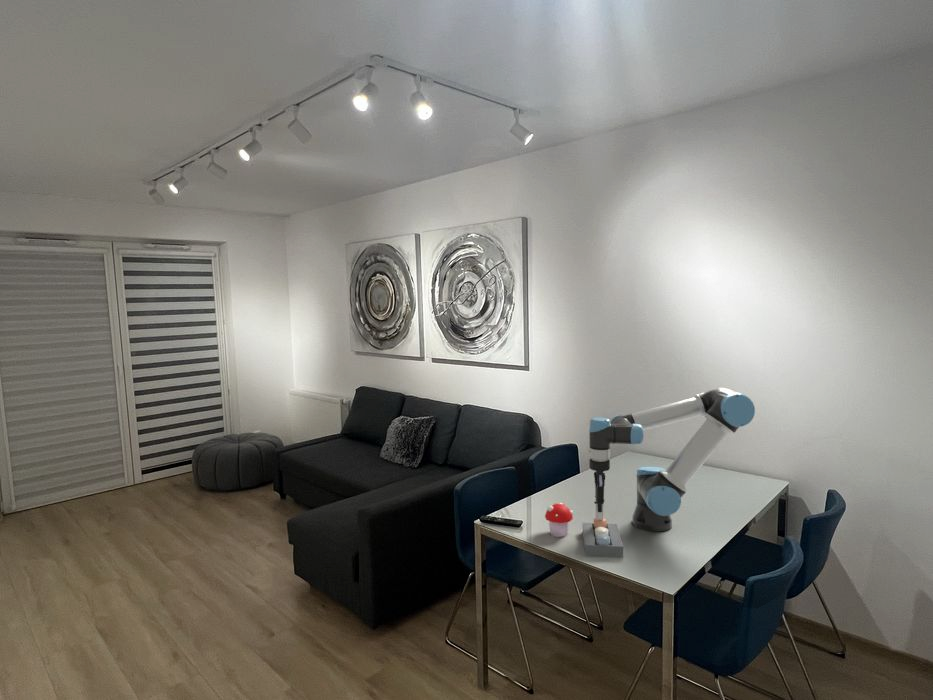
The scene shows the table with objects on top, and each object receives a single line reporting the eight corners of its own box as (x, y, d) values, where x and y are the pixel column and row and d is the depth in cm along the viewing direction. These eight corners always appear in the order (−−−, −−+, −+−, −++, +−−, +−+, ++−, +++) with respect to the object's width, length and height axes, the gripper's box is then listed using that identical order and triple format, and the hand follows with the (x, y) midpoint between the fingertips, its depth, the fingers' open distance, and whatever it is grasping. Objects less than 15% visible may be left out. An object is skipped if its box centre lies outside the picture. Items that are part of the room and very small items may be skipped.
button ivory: (607, 538, 201) (607, 527, 201) (609, 544, 197) (608, 532, 196) (594, 538, 202) (594, 526, 202) (595, 544, 197) (595, 532, 197)
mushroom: (569, 527, 216) (569, 498, 215) (576, 539, 205) (575, 508, 204) (543, 528, 215) (542, 499, 214) (548, 540, 204) (547, 509, 203)
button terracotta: (606, 528, 208) (606, 517, 207) (607, 533, 203) (607, 522, 203) (593, 528, 208) (593, 516, 208) (594, 533, 204) (594, 521, 203)
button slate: (609, 546, 195) (609, 534, 195) (610, 552, 190) (610, 540, 190) (596, 546, 196) (595, 534, 195) (597, 551, 191) (596, 539, 191)
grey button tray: (616, 533, 208) (616, 523, 208) (623, 557, 189) (623, 546, 188) (582, 532, 210) (582, 522, 210) (585, 555, 191) (585, 545, 190)
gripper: (588, 453, 210) (588, 512, 212) (590, 463, 198) (590, 525, 200) (608, 454, 209) (607, 513, 211) (611, 464, 196) (611, 526, 198)
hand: (599, 519), depth 205 cm, fingers closed
